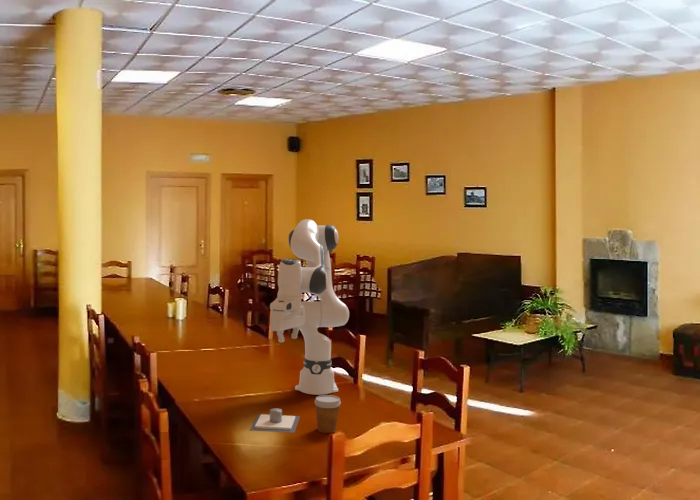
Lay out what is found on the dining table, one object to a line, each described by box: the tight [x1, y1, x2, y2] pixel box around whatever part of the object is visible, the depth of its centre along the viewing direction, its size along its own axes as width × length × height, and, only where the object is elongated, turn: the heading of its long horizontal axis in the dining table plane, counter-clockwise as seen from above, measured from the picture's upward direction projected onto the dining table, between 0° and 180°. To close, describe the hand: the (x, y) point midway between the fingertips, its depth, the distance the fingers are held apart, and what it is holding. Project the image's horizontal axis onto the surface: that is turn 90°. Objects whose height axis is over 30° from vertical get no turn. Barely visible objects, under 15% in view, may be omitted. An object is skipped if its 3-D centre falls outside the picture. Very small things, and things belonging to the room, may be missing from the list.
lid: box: [255, 407, 296, 430], centre depth 244 cm, size 13×13×5 cm
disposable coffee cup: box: [314, 394, 342, 434], centre depth 239 cm, size 10×10×12 cm
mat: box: [249, 413, 301, 434], centre depth 244 cm, size 18×16×1 cm
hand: (287, 340), depth 246 cm, fingers open, 8 cm apart
